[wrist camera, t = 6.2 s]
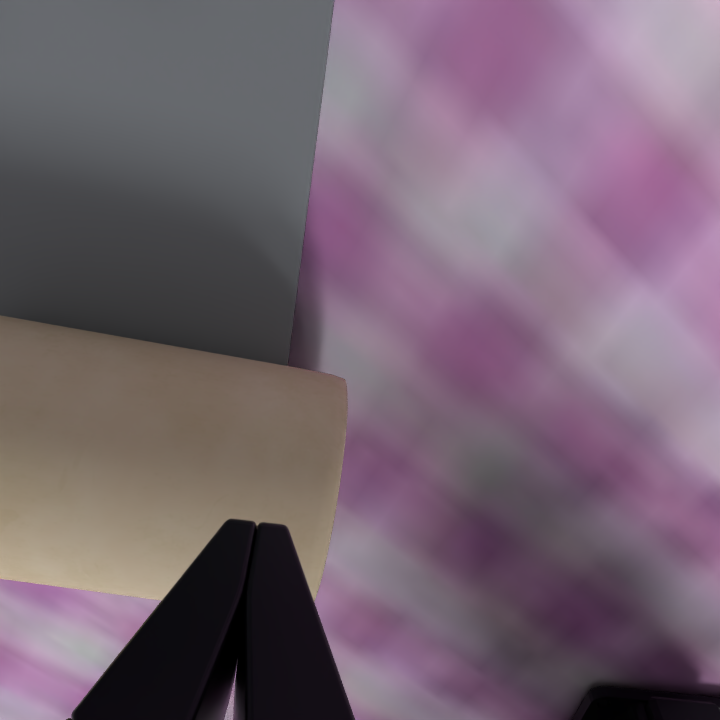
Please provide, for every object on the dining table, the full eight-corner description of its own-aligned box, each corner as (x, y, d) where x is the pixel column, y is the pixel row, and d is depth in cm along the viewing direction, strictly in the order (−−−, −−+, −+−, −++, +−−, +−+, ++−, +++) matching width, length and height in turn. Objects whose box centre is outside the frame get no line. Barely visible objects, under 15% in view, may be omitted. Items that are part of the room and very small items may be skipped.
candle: (299, 675, 15) (-196, 613, 14) (312, 501, 19) (-53, 445, 18) (350, 481, 12) (-262, 384, 11) (351, 334, 17) (-75, 257, 16)
